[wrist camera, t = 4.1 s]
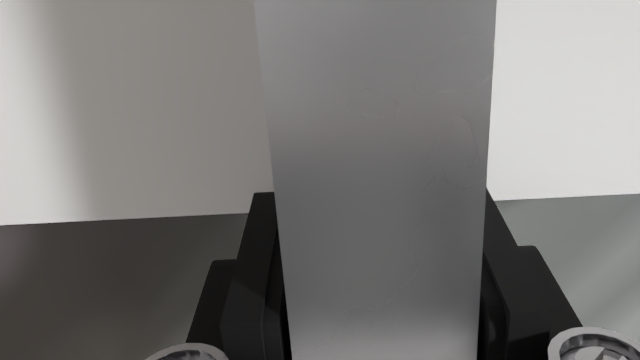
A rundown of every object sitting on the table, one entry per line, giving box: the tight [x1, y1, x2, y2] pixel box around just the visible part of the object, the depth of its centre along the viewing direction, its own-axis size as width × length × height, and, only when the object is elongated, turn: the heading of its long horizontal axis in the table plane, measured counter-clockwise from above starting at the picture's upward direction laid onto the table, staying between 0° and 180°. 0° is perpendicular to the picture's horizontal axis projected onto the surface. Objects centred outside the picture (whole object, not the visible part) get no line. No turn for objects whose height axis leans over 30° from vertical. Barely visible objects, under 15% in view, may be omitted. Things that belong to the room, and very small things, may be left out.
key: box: [254, 0, 497, 360], centre depth 8 cm, size 11×2×4 cm, turn 4°
